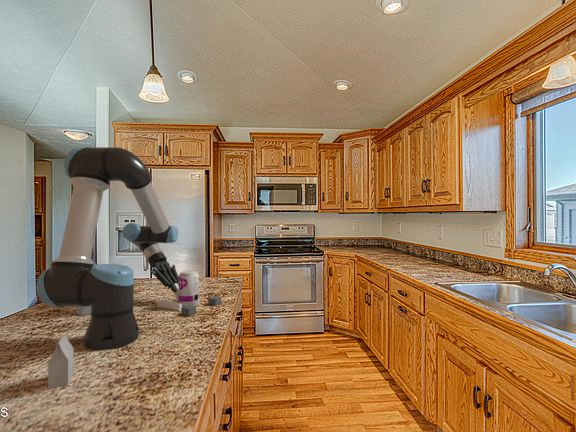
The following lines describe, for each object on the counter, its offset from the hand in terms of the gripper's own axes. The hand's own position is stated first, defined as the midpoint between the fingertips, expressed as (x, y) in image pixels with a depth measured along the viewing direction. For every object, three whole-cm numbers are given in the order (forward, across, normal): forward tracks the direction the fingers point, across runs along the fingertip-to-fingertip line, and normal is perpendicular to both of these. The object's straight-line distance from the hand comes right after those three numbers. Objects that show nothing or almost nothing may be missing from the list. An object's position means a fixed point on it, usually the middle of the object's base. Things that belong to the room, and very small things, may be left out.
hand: (181, 296), depth 137 cm
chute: (+5, +1, +1) cm, 6 cm away
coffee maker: (-14, +25, -20) cm, 35 cm away
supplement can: (+6, +1, +1) cm, 6 cm away
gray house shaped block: (+18, +61, +13) cm, 64 cm away
